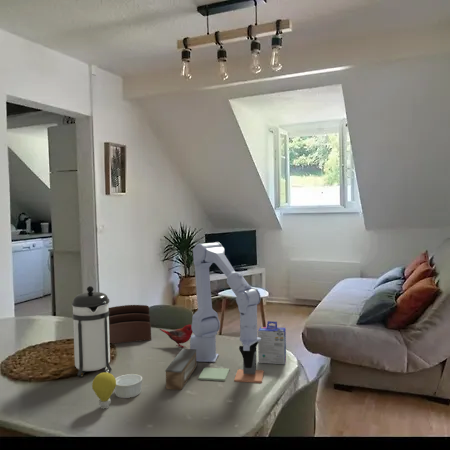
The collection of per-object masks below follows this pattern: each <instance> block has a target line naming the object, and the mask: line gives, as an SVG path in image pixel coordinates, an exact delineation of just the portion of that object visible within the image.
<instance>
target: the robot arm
mask: <svg viewBox="0 0 450 450" xmlns="http://www.w3.org/2000/svg"><path fill="white" fill-rule="evenodd" d="M225 252H226V251H225V247H224V246H223V245H222V243H220V242H219V241H215V242H207V243H205V242H204V243H197V244H196V245H195V246H194V247H193V249H192V258H193V266H194V275H195V287H196V301H197V310H196V311H195V312H194V314H192V316H191V317H192V319H191V320H192V322H191V325H192V326H191V328H192V335H191V337H190V339H189V349H196V362H202V363H203V362H204V363H215V362H216V360H217V359H218V357H219V353H217V345H216V343H217V339H216V337H217V336H216V335H218V332H219V331H220V329H221V322H220V318H219V315H218V314H219V313H218V312H216V311H215V310H214V309H213V301H212V291H211V290H212V289H211V276H210V275H211V274H210V267H211V265H213V264H215V265H216V266H217V267H218V269H219V270H220V271H221V272H222V273H223V275H224V276H225V277H226V284H227V285H228V286H229V287H230V289H231V291H232V292H233V293H234V295H235V296H236V297H235V302H236V304H237V308H238V312H239V328H240V329H239V333H240V334H239V335H240V336H239V341H240V343H241V344H242V345H239V346H238V347H239V348H238V349H239V352H240V354H241V356H242V360H244V365H245V368H252V363H253V356H254V353H255V351H256V352H257V347H258V341H261V338H260V337H258V305H260V302H261V297H262V296H261V293H260V291H259V289H257V288H256V287H253V286H252V285H250V284H249V282H248V281H247V280H246V279H245V278H244V275H243V274H242V273H241V272H239V271H235V269H234V267H233V266H232V264H231V262H230V261H229V259H228V258H227V255H225Z"/></svg>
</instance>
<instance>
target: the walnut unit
mask: <svg viewBox="0 0 450 450" xmlns="http://www.w3.org/2000/svg"><path fill="white" fill-rule="evenodd" d="M196 368H197V361H196V349H190V348H182V349H181V350H180V351H179V352H178V353H177V355H176V356H175V357H174V359H173V360H172V361H171V363H169V365H168V366H167V367H166V369H165V370H164V372H165V388H166V390H175V391H176V390H177V391H179V390H180V391H182V390H183V388H184V387H185V385H186V383H187V382H188V380H189V378H190V377H191V375H192V374H193V372H194V371H195V369H196Z"/></svg>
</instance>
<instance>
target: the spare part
mask: <svg viewBox="0 0 450 450" xmlns="http://www.w3.org/2000/svg"><path fill="white" fill-rule="evenodd" d="M242 360H243V359H242ZM242 363H243V364H242V367H243V368H242V369H243V374H256V370H257V350H256V351H255V353H254V356H253V363H252V368H245V365H244V360H243V362H242Z"/></svg>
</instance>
